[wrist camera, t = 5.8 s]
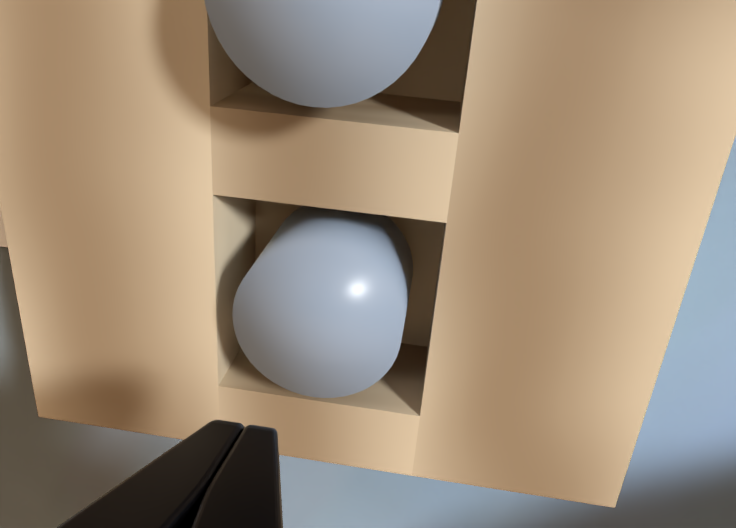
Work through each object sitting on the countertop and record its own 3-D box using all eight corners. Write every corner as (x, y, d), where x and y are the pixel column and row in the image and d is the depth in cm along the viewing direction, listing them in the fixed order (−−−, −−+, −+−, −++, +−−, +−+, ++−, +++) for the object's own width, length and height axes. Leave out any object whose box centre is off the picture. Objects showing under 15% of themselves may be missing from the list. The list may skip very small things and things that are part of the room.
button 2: (421, 207, 13) (410, 259, 11) (405, 337, 14) (393, 408, 12) (271, 189, 13) (231, 237, 11) (270, 318, 14) (233, 385, 12)
